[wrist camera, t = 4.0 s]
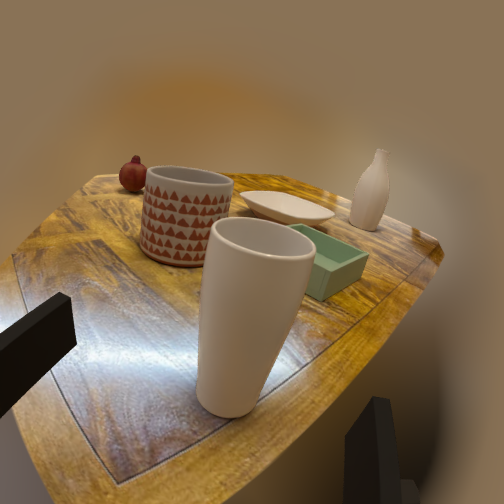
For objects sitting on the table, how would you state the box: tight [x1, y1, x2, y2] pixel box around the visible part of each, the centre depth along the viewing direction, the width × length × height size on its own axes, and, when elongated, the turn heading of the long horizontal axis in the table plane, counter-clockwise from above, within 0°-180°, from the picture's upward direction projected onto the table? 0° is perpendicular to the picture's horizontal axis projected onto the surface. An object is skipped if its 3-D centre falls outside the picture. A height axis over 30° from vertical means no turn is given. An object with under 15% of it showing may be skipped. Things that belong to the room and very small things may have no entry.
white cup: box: [196, 217, 316, 418], centre depth 22 cm, size 7×7×15 cm
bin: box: [287, 223, 369, 302], centre depth 53 cm, size 16×16×5 cm
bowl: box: [240, 191, 335, 228], centre depth 78 cm, size 22×22×5 cm
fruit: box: [119, 156, 147, 192], centre depth 76 cm, size 8×8×10 cm
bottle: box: [349, 148, 390, 231], centre depth 91 cm, size 11×11×25 cm
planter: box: [140, 166, 234, 267], centre depth 49 cm, size 14×14×13 cm
